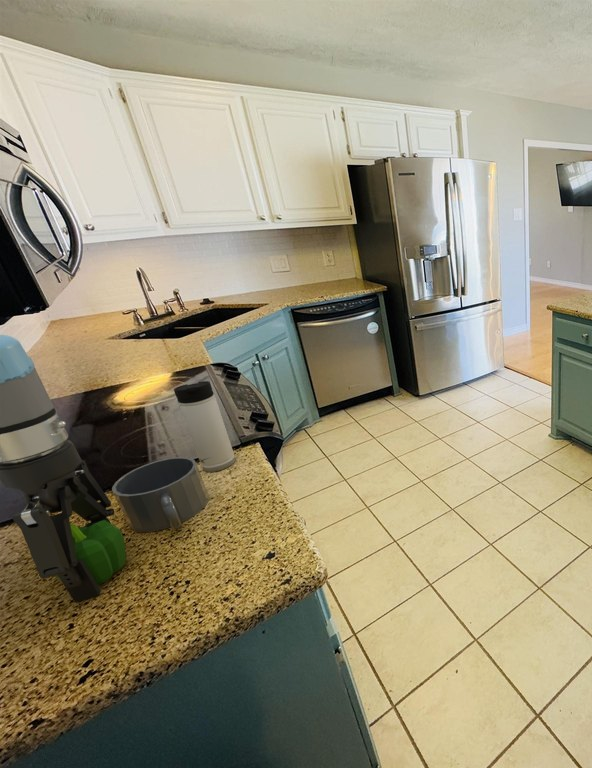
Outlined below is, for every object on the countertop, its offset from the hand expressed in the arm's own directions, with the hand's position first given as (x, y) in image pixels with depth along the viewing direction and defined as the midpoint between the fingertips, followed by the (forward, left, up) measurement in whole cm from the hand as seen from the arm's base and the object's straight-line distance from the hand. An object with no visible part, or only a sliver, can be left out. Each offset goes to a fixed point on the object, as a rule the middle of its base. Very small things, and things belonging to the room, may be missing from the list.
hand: (101, 573), depth 64 cm
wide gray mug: (+7, +12, 0) cm, 14 cm away
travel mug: (+12, +28, 0) cm, 30 cm away
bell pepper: (0, 0, 0) cm, 0 cm away
